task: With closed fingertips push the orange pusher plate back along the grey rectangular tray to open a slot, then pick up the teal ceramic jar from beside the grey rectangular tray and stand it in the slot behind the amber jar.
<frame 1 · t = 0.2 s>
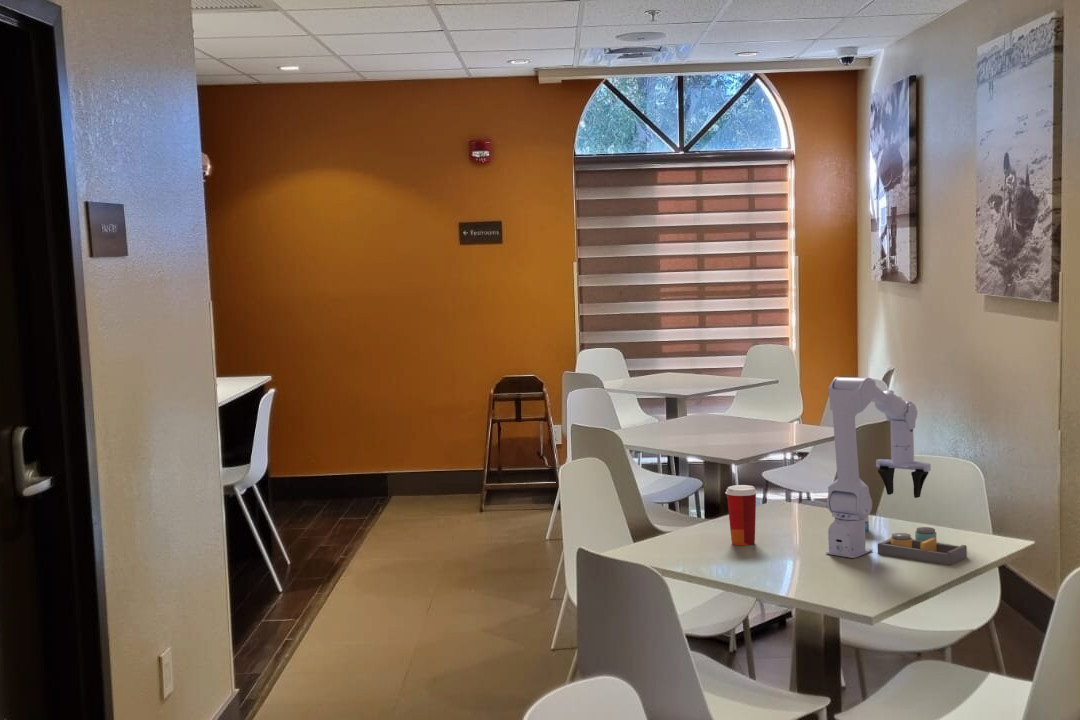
hand: (903, 495, 272), 10 cm above the table, fingers open, 7 cm apart
pusher plate: (928, 548, 247), point 2 cm above the table, slide at 0.0 cm
teal jar: (926, 546, 257), on the table
coffee cup: (742, 543, 269), on the table
amber jar: (901, 552, 252), resting in grey rectangular tray
ink box: (855, 528, 280), on the table
grey rectangular tray: (920, 555, 248), on the table
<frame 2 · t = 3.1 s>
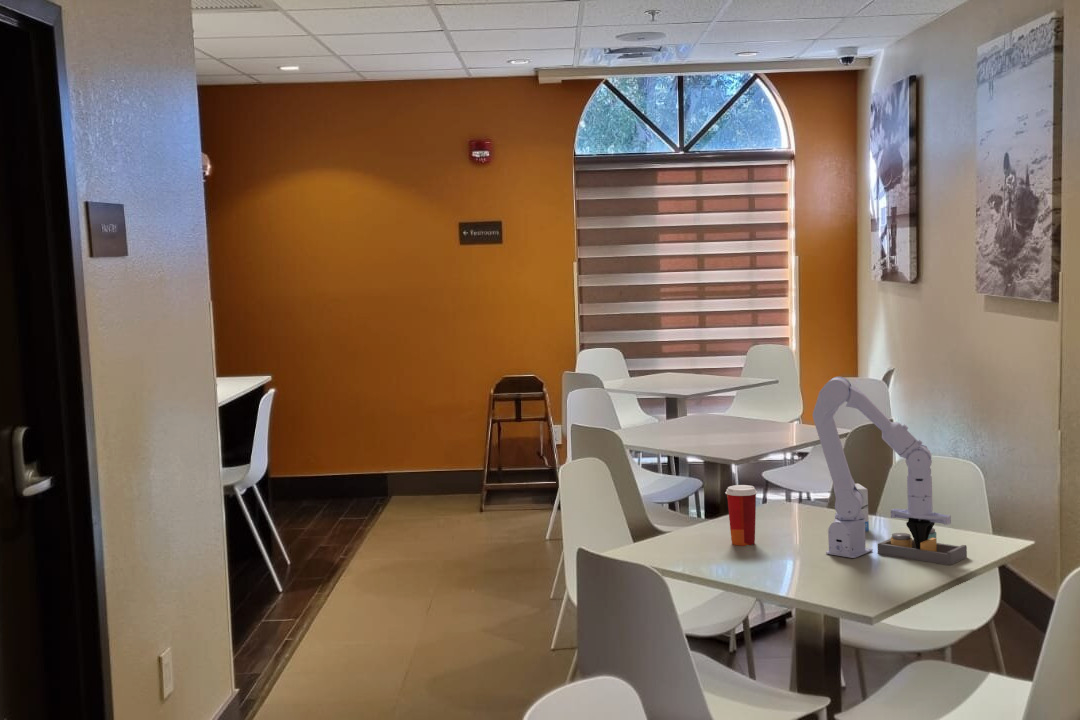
hand: (921, 549, 248), 1 cm above the table, fingers closed
pusher plate: (928, 548, 247), point 2 cm above the table, slide at 0.0 cm, touching gripper
everything else where it was.
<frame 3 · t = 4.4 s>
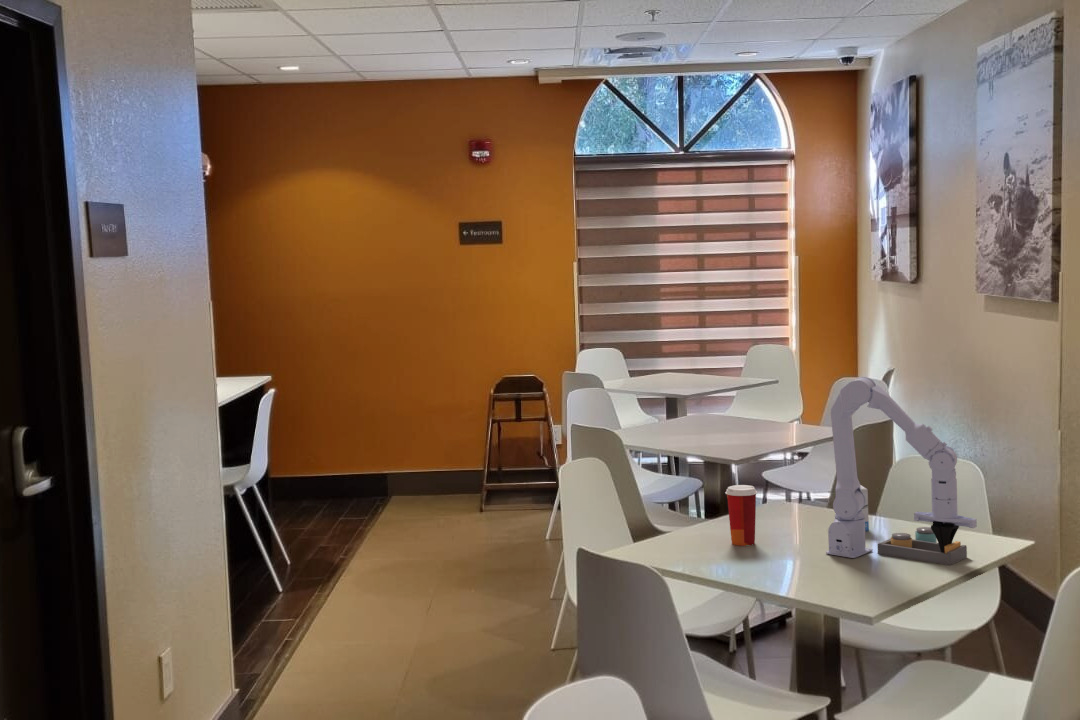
hand: (945, 553, 244), 1 cm above the table, fingers closed
pusher plate: (952, 552, 242), point 2 cm above the table, slide at 6.0 cm, touching gripper
everything else where it was.
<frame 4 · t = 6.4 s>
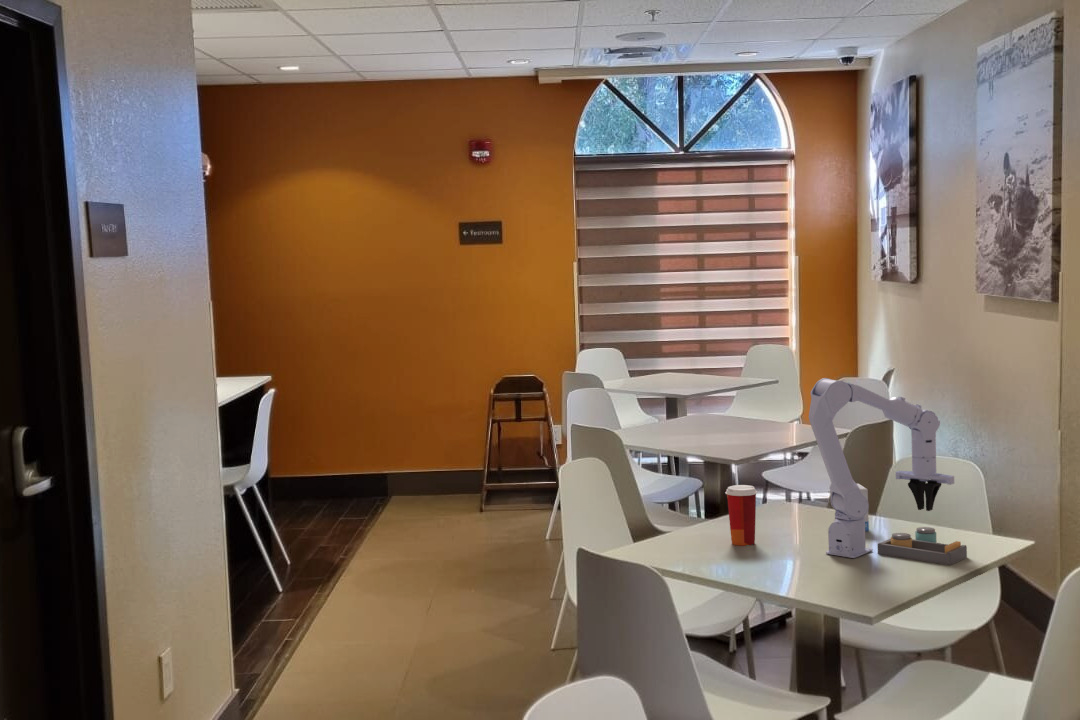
hand: (925, 509, 256), 9 cm above the table, fingers closed
pusher plate: (952, 552, 242), point 2 cm above the table, slide at 6.0 cm
everything else where it was.
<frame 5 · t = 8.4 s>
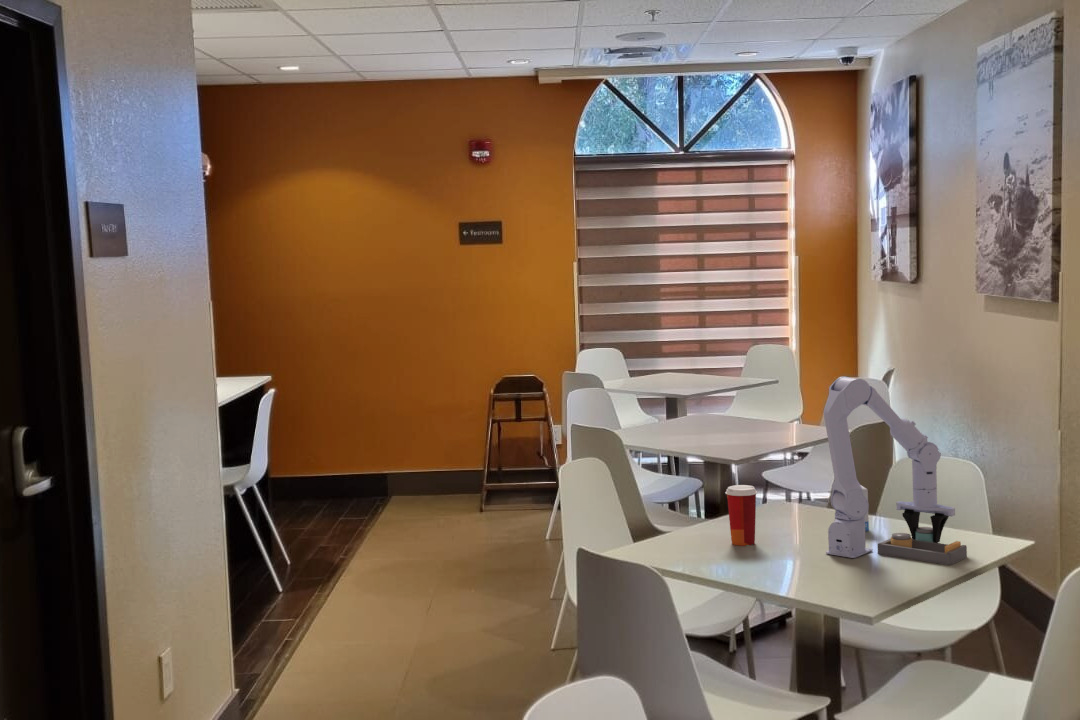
hand: (926, 540, 257), 1 cm above the table, fingers closed on teal jar, 5 cm apart
teal jar: (926, 546, 257), on the table, touching gripper
everything else where it was.
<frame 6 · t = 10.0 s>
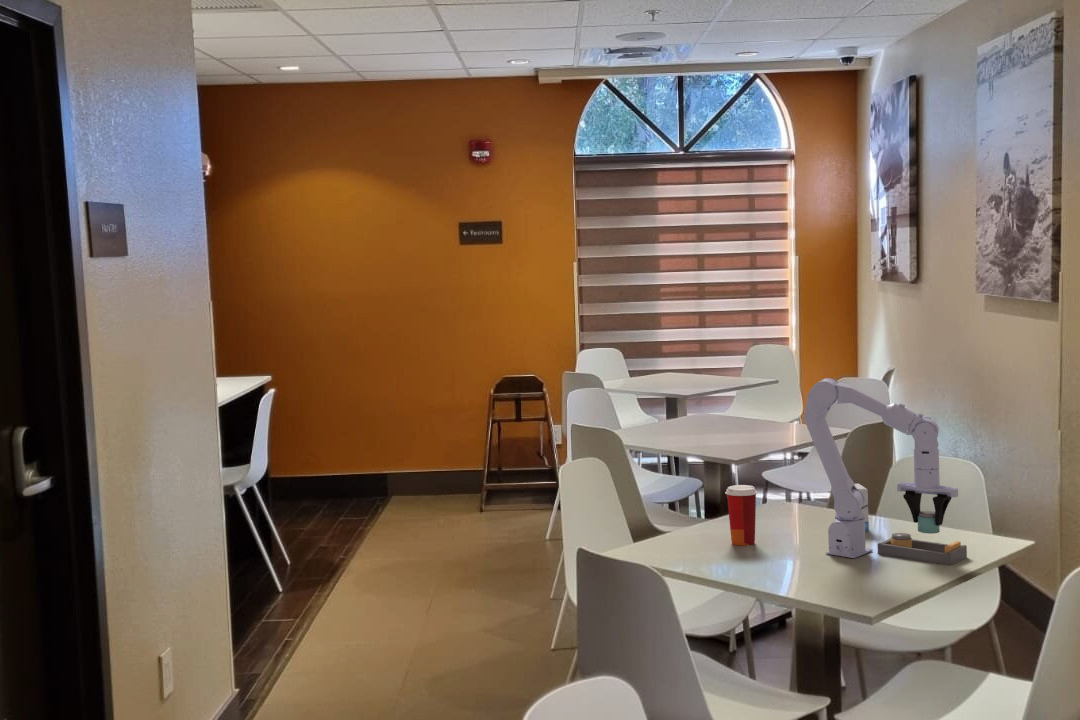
hand: (927, 523, 246), 8 cm above the table, fingers closed on teal jar, 5 cm apart
teal jar: (928, 530, 247), point 6 cm above the table, touching gripper
everything else where it was.
when the fingers open (2 cm above the table, at t = 11.6 s): teal jar stays where it is, resting in grey rectangular tray.
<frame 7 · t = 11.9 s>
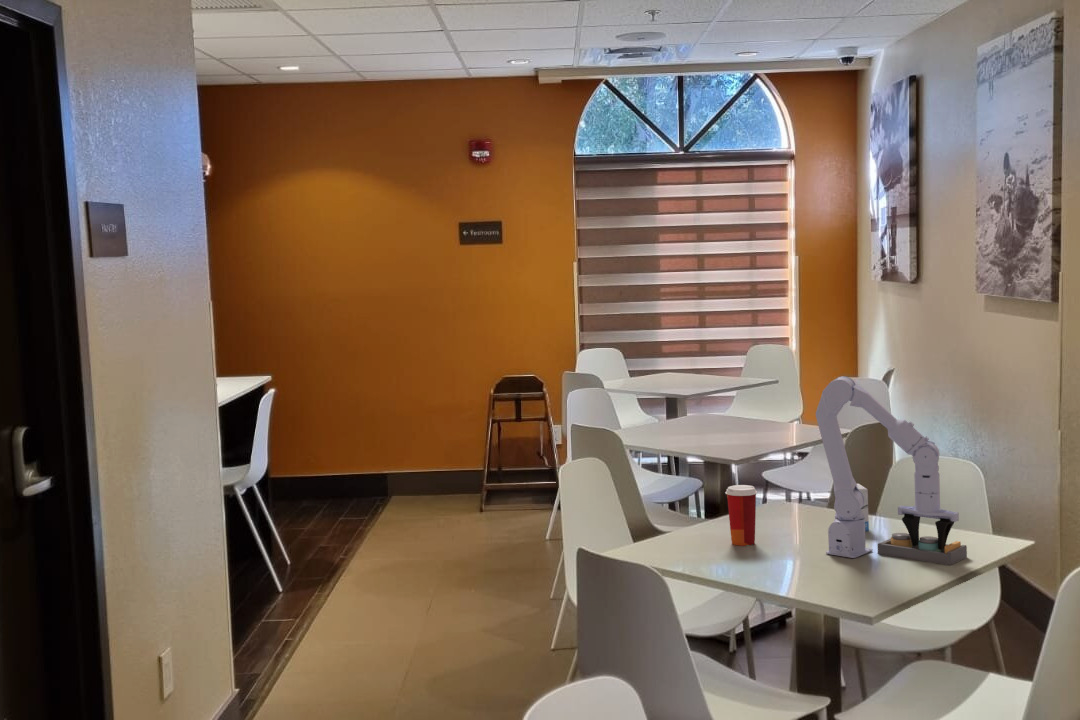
hand: (928, 546, 247), 2 cm above the table, fingers open, 6 cm apart
teal jar: (929, 556, 247), resting in grey rectangular tray
everything else where it was.
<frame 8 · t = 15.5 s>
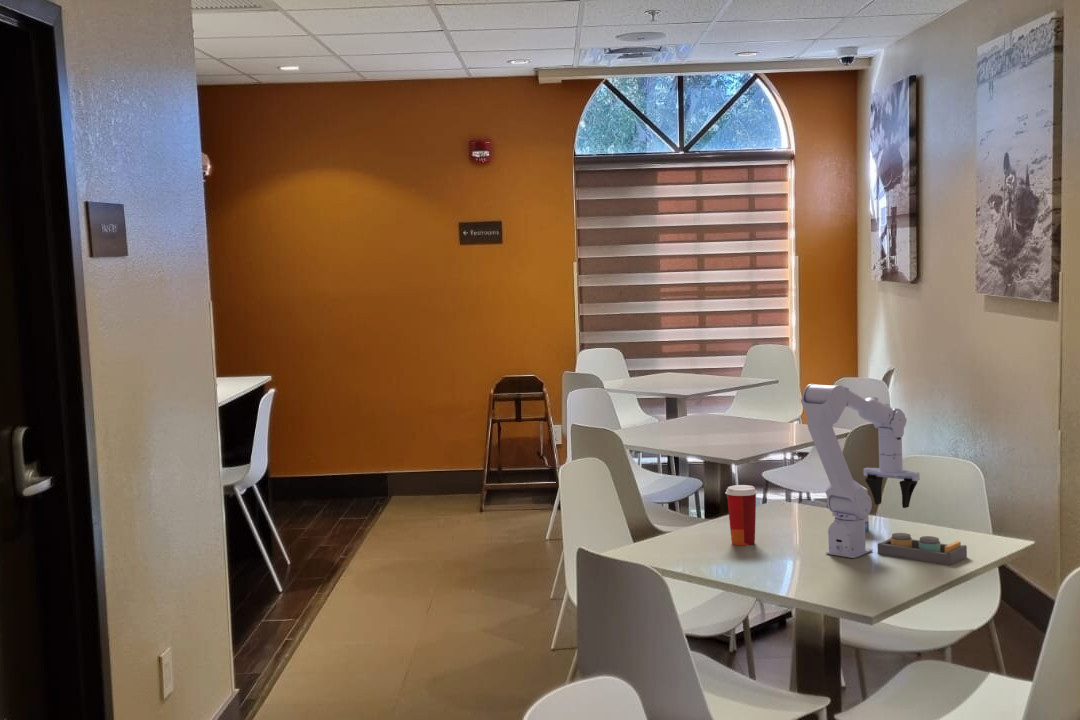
hand: (891, 505, 263), 9 cm above the table, fingers open, 7 cm apart
nothing on the table moved.
at the end: teal jar inside the target area (0.5 cm from its centre), resting in grey rectangular tray; teal jar tilted 1°; pusher plate slide at 6.0 cm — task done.
